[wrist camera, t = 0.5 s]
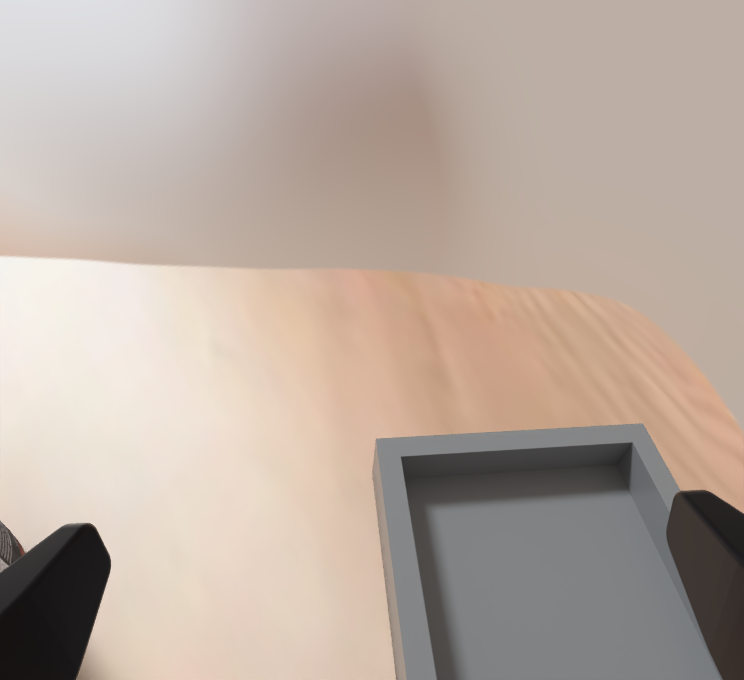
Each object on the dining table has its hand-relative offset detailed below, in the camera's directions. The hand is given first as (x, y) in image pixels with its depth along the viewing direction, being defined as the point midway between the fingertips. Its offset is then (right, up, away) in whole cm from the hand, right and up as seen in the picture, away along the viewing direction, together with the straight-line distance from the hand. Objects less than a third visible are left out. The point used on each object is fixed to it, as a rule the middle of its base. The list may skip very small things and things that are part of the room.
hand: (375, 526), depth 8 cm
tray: (+7, -8, +14) cm, 18 cm away
